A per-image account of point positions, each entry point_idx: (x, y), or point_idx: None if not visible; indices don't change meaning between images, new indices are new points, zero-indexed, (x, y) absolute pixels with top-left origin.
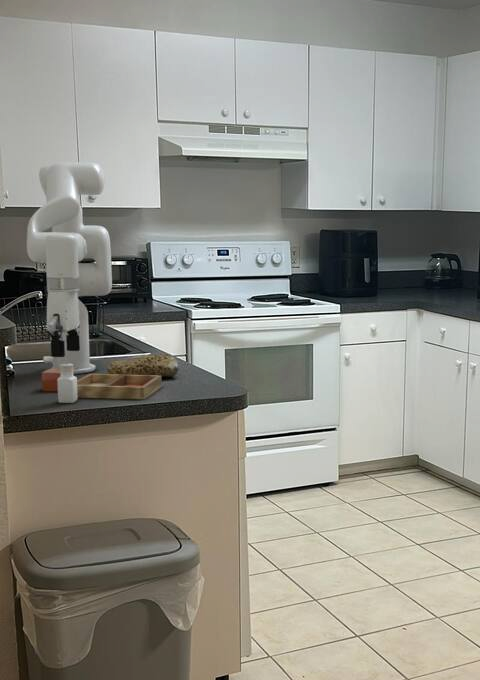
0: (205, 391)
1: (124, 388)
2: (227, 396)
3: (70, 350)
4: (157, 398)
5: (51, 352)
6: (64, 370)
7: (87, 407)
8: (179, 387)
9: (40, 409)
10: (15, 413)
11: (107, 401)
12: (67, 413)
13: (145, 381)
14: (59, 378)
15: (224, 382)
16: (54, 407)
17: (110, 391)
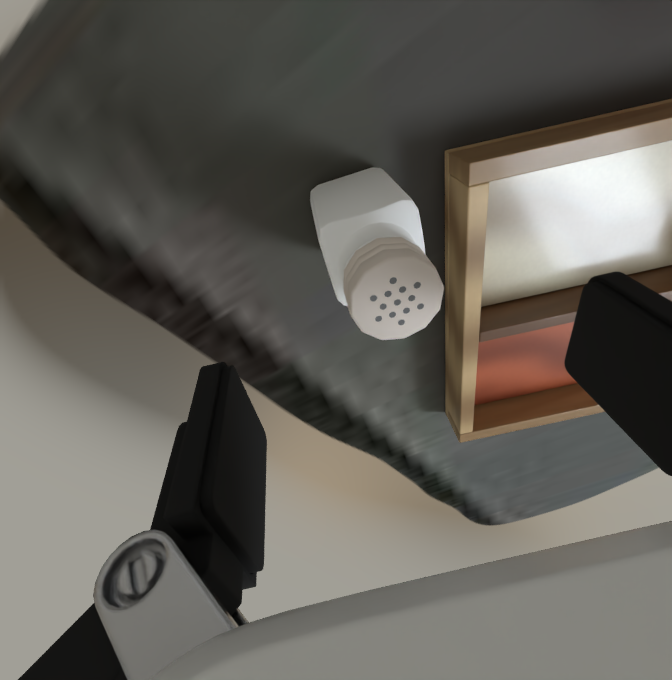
0: (554, 471)
1: (459, 393)
2: (498, 515)
3: (578, 309)
4: None
5: (196, 391)
6: (346, 295)
7: (291, 333)
8: None
9: (167, 178)
10: (14, 99)
11: (399, 341)
12: (176, 324)
13: None
14: (334, 236)
15: None
16: (234, 217)
17: (454, 344)
